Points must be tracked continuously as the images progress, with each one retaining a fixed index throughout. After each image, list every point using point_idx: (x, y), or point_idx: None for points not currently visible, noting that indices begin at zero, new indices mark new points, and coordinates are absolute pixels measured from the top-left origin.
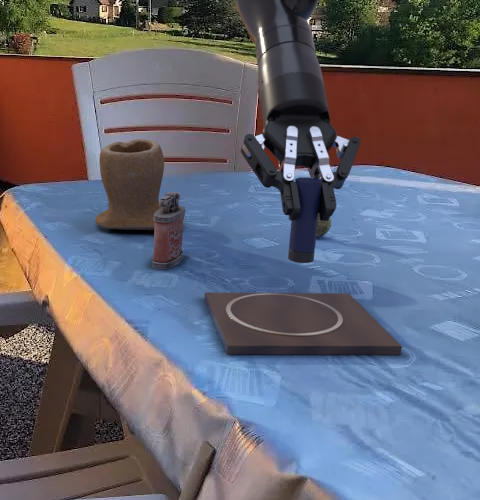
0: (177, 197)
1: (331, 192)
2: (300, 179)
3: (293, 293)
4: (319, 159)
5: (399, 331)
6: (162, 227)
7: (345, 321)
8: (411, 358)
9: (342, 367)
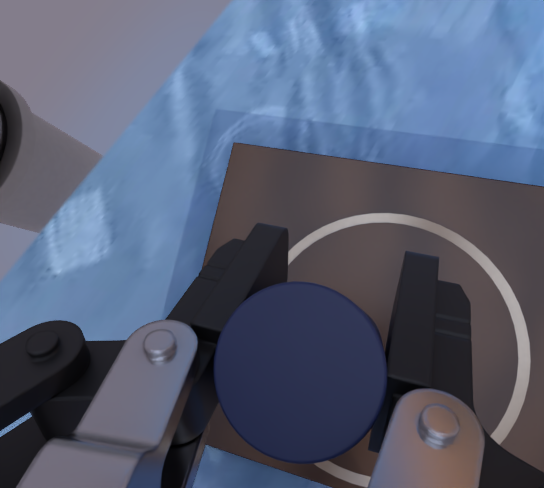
0: None
1: (198, 296)
2: (350, 389)
3: (291, 467)
4: (131, 462)
5: (173, 245)
6: None
7: None
8: (229, 135)
9: (369, 118)
